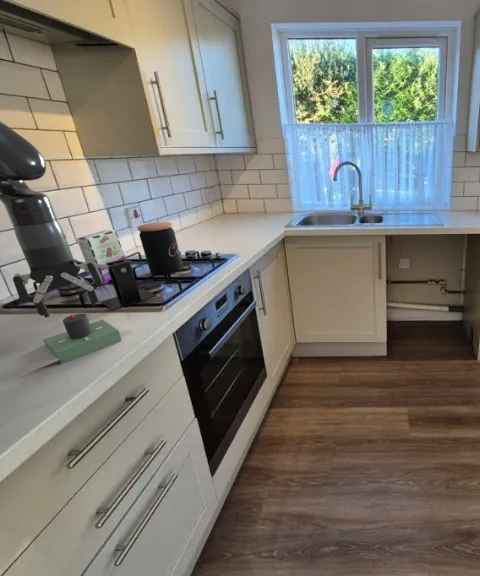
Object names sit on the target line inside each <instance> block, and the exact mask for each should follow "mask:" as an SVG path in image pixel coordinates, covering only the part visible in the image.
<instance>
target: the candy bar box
mask: <svg viewBox="0 0 480 576" xmlns="http://www.w3.org/2000/svg"><path fill="white" fill-rule="evenodd" d="M76 242H77V244H78V246H79V249H80V251H81V254H82V256H83V257H82V258H83V259H84V262H87V261H92V262H93V263H96V264H104V265H106V263H108V262H112V261H116V260H121V259H123V260H124V262H127V260H126V256H125V254H124V251H123V248H122V244H121V242H120V239H119V236H118V233H117V230H116V229H115V230H114V229H105V230H101V231H98V232H93V233H91V234H88V235H83V236H81V237H77V238H76ZM95 268H96V267H95ZM96 270H97V273H98V275H99V277H100V279H101V282H102V285H105V284H108V283H110V282H109V280H111V277H110V274H109V272H108V269H105V268H96ZM89 275H90V277H91V279H92V282H94V280H93V278H92V275H91V273H90V272H89Z"/></svg>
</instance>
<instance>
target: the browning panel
mask: <svg viewBox="0 0 480 576" xmlns="http://www.w3.org/2000/svg"><path fill="white" fill-rule="evenodd" d="M90 326H91V328H92V331H93V332H92V333H91V334H90V335H88V336H86V337H83V338H79V339H70V338H69V335H68V333H67V331H64V332H61V333H57V334H55V335H52V336H49V337H46V338H44V339H42V340H43V342H44V345H45V346H46V347H47V348H48V349H49V351H51V353H52V354H53V355H55V357H56V358H57V359H58V363H59V364H60V365H63V364H65V363H68V362H70V361H73V360H75V359H78V358H80V357H81V358H82V357H83V356H86V355H88V354H91V353H93V352H96V351H99V350H101V349H104V348H107V347H109V346H112V345H114V344H117V343H119V342H122V337H121V334H120V331H119V329H117V328H116V327H114V326H113V325H111V324H110V323H109V322H107V321H105V320H104V319H99V320H97V321H94V322H91V323H90Z"/></svg>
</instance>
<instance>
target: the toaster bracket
mask: <svg viewBox="0 0 480 576" xmlns="http://www.w3.org/2000/svg"><path fill="white" fill-rule="evenodd" d="M113 263H118V264H115V265H113ZM106 265H111V267H112V269H108V272H109V274H110V277H111V280H112V281H111V283H112V286H113V289H114V291H115V295H116V296H115V297H111V298H108V299H105V300H102V301H100V304H102V305H104V306H105V307H107V308H109V309H110V310H111V311H117V310H119V309H123V308H126V307H128V306H132V305H135V304H138V303H141V302H144V301H147V300H150V299H154V298H156V297H158V294H155V293H154V292H151V291H149V290H147V289H145V288H141V289H139V288H138V285H137V281H136V279H135V275H134V271H133V269H132V265H131V262H130V261H126V262H124V260H123V259H121V260H116V261H112V262H108V263H106ZM112 270H113V271H112Z"/></svg>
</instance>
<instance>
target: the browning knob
mask: <svg viewBox="0 0 480 576" xmlns="http://www.w3.org/2000/svg"><path fill="white" fill-rule="evenodd" d="M62 323H63V325H64V329H65V330H66V331H65V332H67V333H68V335H69V338H70V339H79V338H83V337H86V336H88V335H90V334H91V333H92V332H93V331H92V328H91V326H90V324H91V323H90V321H89V318H88V316H87V314H86V313H75V314H73V313H71V314H69V316H66V317H65V318H63V319H62Z"/></svg>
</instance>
